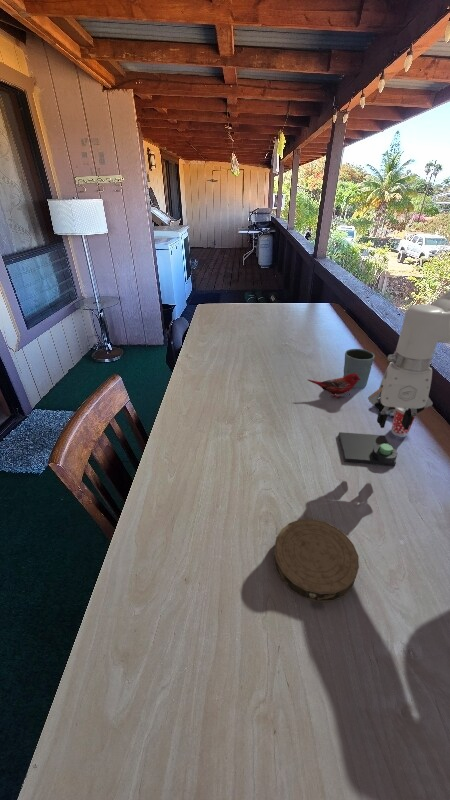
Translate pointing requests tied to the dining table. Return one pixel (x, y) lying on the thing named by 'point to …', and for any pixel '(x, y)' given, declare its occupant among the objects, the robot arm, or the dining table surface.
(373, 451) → the scale
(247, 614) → the dining table surface
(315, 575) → the wood log slice
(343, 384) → the decorative bird figurine
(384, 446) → the tare button
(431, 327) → the robot arm
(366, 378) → the green cylindrical pot
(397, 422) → the beverage cup
